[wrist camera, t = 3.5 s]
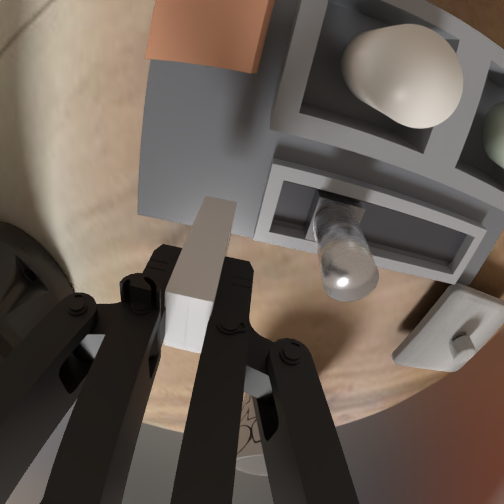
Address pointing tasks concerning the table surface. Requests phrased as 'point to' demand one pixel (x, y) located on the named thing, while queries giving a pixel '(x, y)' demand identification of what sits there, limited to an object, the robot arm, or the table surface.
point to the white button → (404, 74)
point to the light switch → (452, 330)
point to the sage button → (494, 134)
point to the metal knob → (341, 246)
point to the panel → (329, 142)
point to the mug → (250, 442)
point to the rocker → (210, 32)
